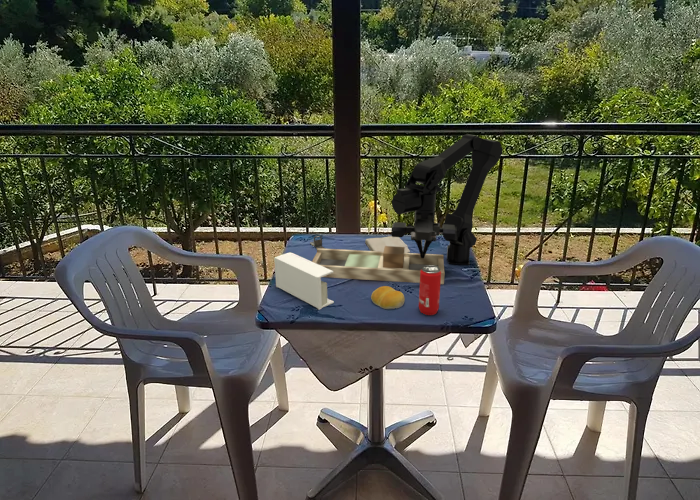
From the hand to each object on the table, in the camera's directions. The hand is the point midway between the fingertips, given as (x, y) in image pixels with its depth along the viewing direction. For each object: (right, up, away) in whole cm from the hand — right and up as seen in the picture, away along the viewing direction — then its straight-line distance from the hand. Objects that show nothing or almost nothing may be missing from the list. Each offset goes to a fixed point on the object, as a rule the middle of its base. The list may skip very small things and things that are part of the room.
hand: (422, 257), depth 152 cm
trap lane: (-13, -4, +4) cm, 14 cm away
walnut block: (-9, -2, +2) cm, 9 cm away
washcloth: (-9, +1, +19) cm, 21 cm away
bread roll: (-12, -12, -15) cm, 23 cm away
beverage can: (-1, -14, -20) cm, 25 cm away
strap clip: (-33, +3, +23) cm, 40 cm away
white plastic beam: (-35, -10, -11) cm, 38 cm away
